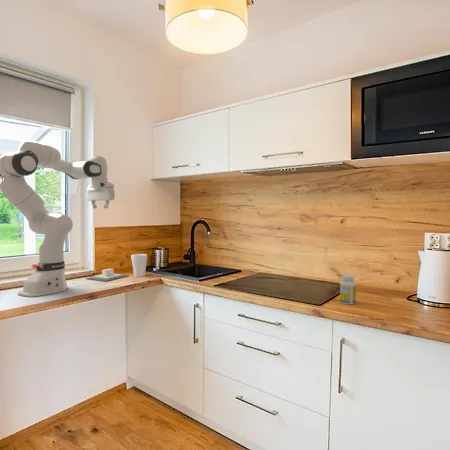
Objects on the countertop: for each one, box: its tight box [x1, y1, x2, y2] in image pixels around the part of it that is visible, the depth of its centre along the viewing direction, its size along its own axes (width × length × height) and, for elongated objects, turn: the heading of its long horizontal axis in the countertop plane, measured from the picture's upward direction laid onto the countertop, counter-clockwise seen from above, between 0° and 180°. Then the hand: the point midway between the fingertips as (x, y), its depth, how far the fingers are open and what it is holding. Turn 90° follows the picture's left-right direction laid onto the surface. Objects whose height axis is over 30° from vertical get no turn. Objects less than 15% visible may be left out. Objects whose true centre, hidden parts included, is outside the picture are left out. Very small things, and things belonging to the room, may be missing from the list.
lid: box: [92, 268, 124, 280], centre depth 201 cm, size 12×12×4 cm
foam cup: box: [130, 253, 148, 278], centre depth 206 cm, size 10×9×13 cm
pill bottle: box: [339, 274, 357, 305], centre depth 146 cm, size 6×6×12 cm
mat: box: [85, 274, 129, 283], centre depth 201 cm, size 18×16×1 cm
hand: (100, 208), depth 198 cm, fingers open, 8 cm apart
